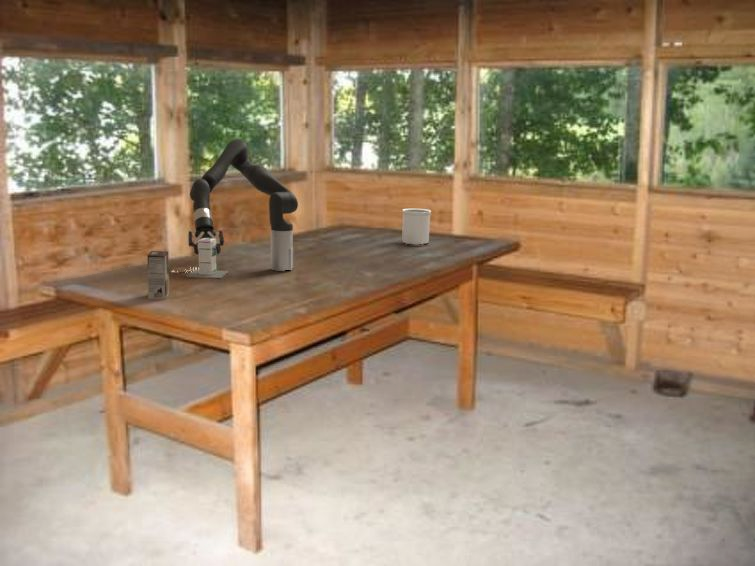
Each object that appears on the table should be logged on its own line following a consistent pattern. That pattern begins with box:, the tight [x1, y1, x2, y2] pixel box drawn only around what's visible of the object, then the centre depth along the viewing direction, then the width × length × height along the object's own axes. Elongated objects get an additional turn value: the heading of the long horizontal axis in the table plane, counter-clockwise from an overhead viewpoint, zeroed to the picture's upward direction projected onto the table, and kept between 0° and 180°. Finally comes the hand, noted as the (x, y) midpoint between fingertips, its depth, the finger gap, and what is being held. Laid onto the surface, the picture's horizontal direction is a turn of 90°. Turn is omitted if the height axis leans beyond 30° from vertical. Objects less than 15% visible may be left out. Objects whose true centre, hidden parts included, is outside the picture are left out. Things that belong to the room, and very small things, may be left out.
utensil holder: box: [401, 207, 432, 244], centre depth 454 cm, size 15×15×18 cm
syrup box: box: [198, 238, 218, 275], centre depth 357 cm, size 6×6×14 cm
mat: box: [186, 270, 229, 280], centre depth 358 cm, size 14×14×1 cm
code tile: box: [170, 266, 199, 274], centre depth 366 cm, size 12×12×1 cm
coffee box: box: [147, 250, 170, 300], centre depth 315 cm, size 9×6×16 cm
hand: (207, 253), depth 355 cm, fingers open, 8 cm apart
